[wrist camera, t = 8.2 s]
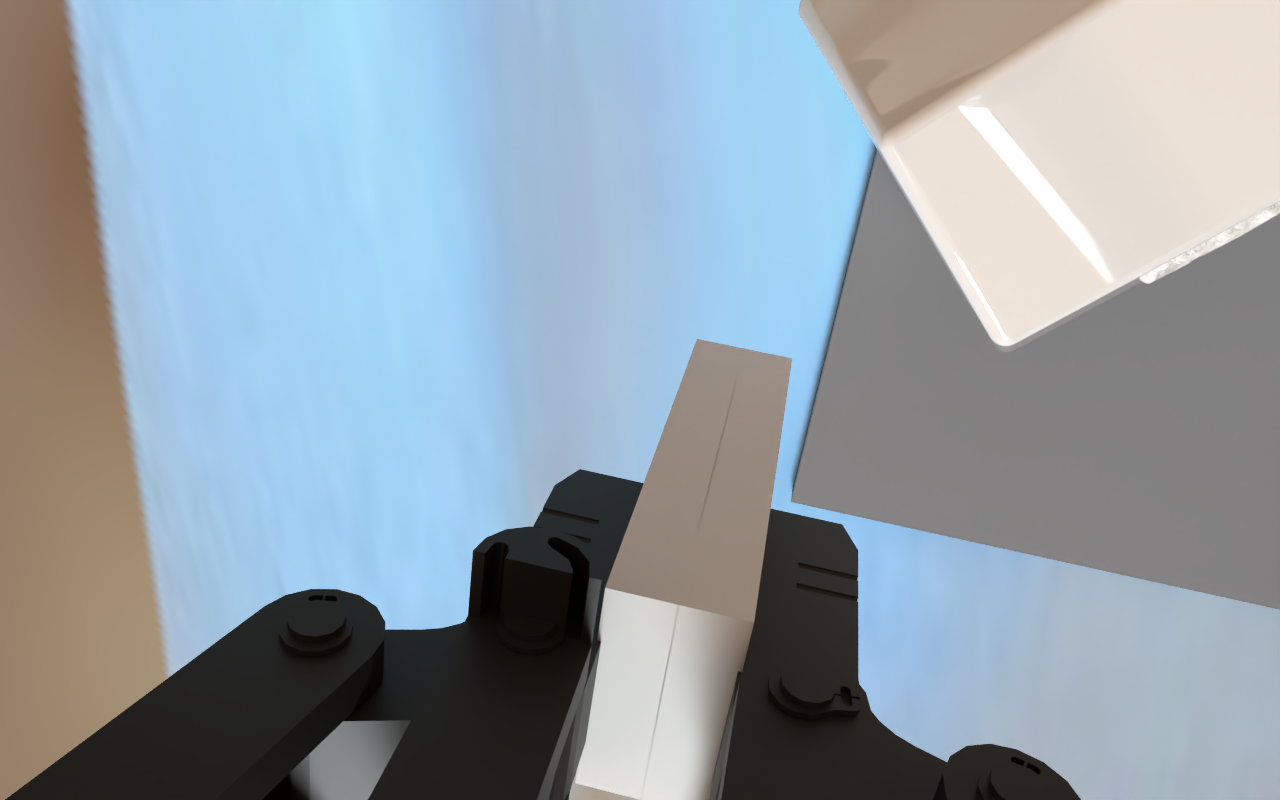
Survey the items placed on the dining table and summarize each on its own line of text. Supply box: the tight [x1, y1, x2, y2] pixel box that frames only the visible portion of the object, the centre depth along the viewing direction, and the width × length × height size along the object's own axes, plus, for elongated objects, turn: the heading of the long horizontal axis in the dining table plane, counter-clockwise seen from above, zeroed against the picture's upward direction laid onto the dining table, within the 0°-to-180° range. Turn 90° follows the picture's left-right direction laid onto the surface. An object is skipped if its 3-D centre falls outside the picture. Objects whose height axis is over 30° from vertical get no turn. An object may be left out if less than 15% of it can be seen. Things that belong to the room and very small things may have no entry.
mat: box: [791, 149, 1280, 609], centre depth 25 cm, size 16×16×1 cm
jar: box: [799, 0, 1280, 352], centre depth 19 cm, size 9×8×12 cm
